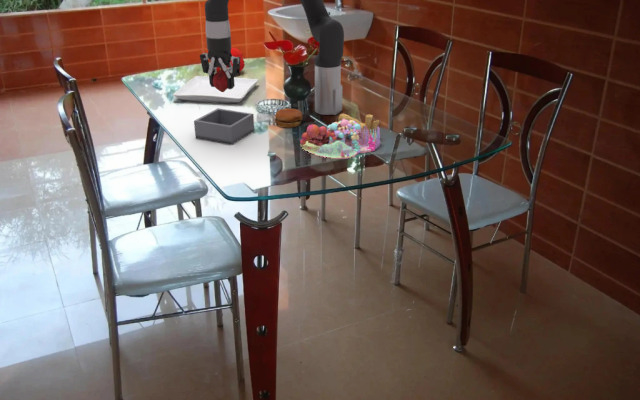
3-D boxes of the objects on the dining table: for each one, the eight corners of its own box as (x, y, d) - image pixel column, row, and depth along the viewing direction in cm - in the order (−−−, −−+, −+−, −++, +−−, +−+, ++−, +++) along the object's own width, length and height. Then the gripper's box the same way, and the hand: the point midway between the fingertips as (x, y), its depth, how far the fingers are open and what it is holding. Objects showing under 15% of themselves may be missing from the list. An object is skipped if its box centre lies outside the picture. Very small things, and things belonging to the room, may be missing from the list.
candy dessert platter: (322, 128, 220) (322, 102, 215) (388, 137, 212) (389, 110, 208) (292, 154, 199) (292, 126, 195) (365, 165, 191) (366, 136, 187)
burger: (287, 130, 217) (287, 117, 215) (269, 123, 223) (268, 110, 221) (308, 123, 223) (308, 110, 221) (290, 117, 229) (289, 104, 227)
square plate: (242, 107, 239) (241, 97, 238) (172, 103, 243) (171, 93, 242) (259, 86, 263) (259, 77, 262) (195, 83, 267) (195, 74, 265)
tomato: (219, 84, 275) (245, 79, 283) (226, 63, 266) (253, 59, 273) (206, 63, 280) (232, 59, 287) (212, 41, 270) (240, 38, 278)
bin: (254, 130, 216) (253, 113, 213) (232, 144, 205) (230, 127, 202) (219, 124, 221) (217, 108, 219) (195, 138, 210) (193, 120, 207)
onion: (228, 95, 203) (226, 70, 200) (210, 94, 204) (208, 69, 201) (234, 90, 209) (232, 65, 205) (217, 89, 210) (215, 64, 206)
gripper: (244, 34, 199) (247, 87, 206) (205, 30, 204) (209, 81, 212) (231, 39, 193) (235, 93, 200) (191, 35, 198) (196, 88, 206)
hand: (222, 87), depth 206 cm, fingers closed on onion, 6 cm apart
